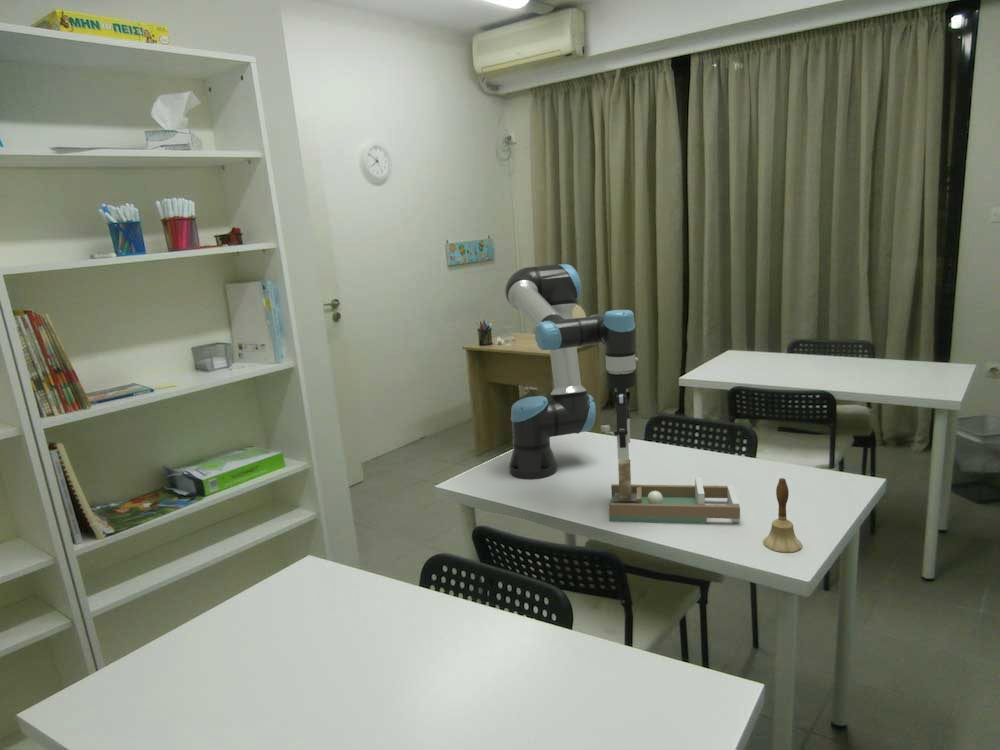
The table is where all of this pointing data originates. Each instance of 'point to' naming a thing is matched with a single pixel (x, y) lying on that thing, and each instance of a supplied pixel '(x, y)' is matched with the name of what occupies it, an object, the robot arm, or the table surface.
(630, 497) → the kicker
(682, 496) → the pitch
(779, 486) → the hand bell
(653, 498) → the ball
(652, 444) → the table surface
